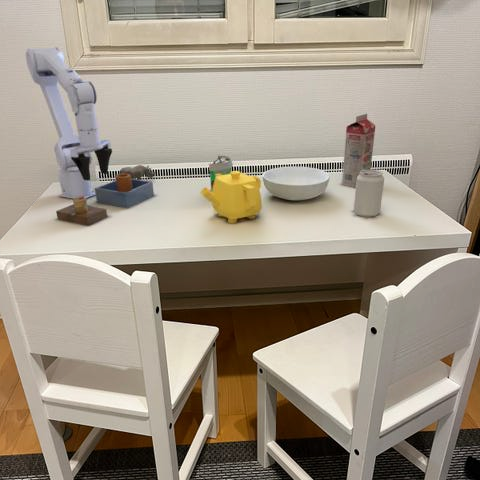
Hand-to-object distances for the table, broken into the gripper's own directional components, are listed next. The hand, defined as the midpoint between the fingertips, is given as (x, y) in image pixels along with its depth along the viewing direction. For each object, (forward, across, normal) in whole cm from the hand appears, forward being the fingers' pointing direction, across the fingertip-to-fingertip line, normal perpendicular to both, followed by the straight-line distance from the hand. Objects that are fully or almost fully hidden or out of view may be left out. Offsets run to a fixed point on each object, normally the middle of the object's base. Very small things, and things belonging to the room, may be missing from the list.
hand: (95, 176), depth 151 cm
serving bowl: (+10, +35, -50) cm, 62 cm away
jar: (+9, +10, -2) cm, 13 cm away
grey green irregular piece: (+10, +31, -26) cm, 42 cm away
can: (+10, +29, -75) cm, 81 cm away
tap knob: (+7, -11, -3) cm, 13 cm away
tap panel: (+9, -10, -2) cm, 14 cm away
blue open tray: (+9, +10, -2) cm, 14 cm away
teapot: (+10, +10, -41) cm, 43 cm away
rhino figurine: (+10, +26, +6) cm, 28 cm away
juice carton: (+10, +56, -63) cm, 85 cm away
